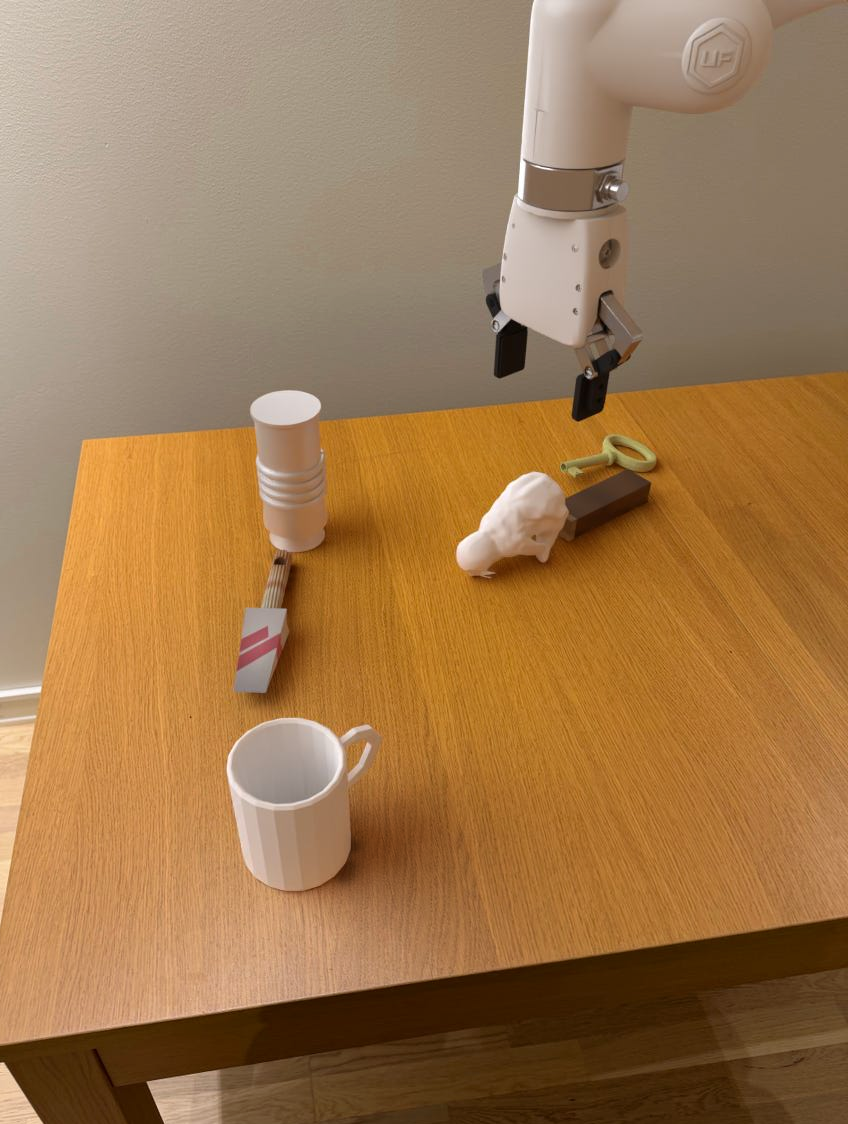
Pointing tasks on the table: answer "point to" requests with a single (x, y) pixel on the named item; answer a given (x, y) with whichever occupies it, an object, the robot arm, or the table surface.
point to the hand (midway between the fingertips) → (546, 393)
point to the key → (613, 457)
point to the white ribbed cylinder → (291, 469)
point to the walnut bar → (604, 502)
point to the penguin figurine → (516, 525)
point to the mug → (295, 799)
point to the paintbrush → (264, 631)
